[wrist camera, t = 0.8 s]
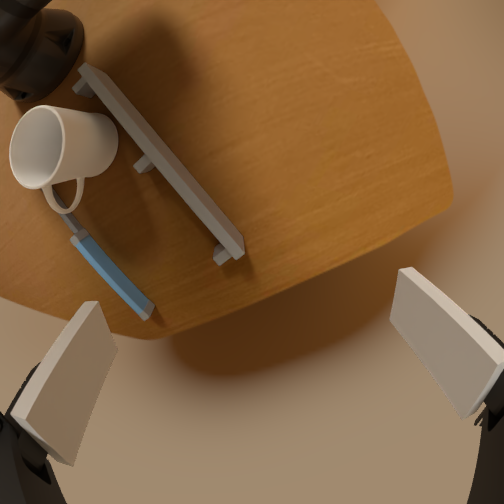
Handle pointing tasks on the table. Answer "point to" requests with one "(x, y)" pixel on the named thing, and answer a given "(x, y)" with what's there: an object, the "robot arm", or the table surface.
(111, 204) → the table surface
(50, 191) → the mug
